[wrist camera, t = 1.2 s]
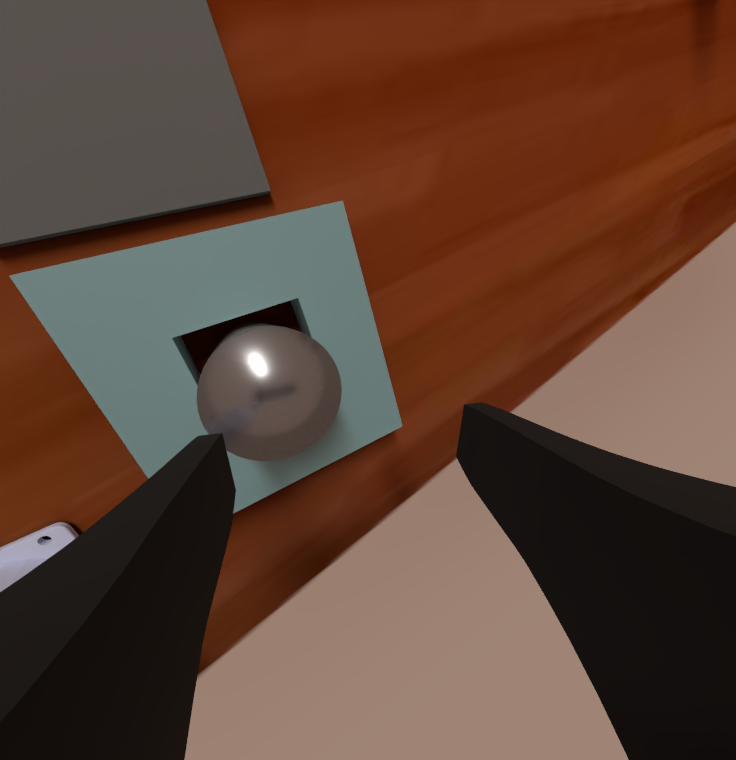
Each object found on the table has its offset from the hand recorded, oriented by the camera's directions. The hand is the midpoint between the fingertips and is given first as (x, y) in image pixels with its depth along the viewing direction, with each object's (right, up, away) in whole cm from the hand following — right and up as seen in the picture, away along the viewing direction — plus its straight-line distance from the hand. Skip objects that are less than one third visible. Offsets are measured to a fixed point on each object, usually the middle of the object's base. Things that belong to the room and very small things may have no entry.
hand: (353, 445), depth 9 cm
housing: (-6, +3, +9) cm, 11 cm away
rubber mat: (-12, +15, +3) cm, 19 cm away
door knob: (-6, +3, +9) cm, 11 cm away
